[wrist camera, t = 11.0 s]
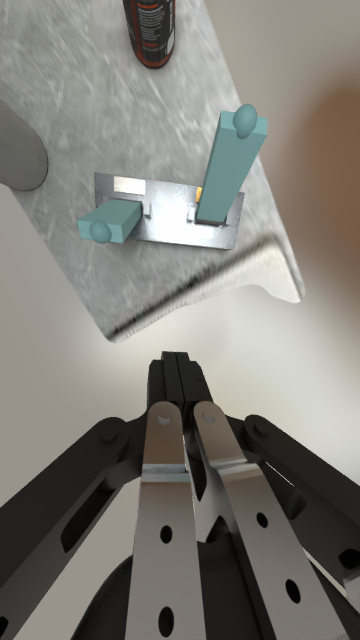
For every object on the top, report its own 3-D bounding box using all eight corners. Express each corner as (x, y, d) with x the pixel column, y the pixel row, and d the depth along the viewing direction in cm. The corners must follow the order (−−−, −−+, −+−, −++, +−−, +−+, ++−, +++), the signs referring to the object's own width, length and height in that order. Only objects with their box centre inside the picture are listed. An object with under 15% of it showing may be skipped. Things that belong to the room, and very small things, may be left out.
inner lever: (116, 211, 27) (77, 244, 17) (114, 195, 26) (71, 220, 16) (142, 214, 28) (120, 249, 17) (142, 199, 26) (118, 226, 16)
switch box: (105, 236, 32) (91, 232, 26) (104, 182, 30) (87, 165, 24) (227, 250, 34) (238, 249, 28) (235, 200, 31) (250, 187, 25)
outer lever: (194, 225, 28) (224, 114, 14) (195, 213, 28) (225, 92, 14) (220, 228, 28) (273, 123, 14) (221, 216, 28) (274, 100, 14)
